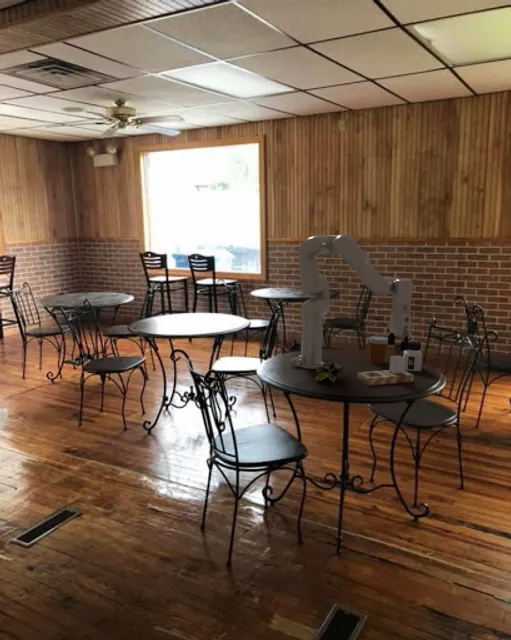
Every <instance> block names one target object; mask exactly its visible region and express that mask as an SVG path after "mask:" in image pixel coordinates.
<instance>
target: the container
mask: <svg viewBox="0 0 511 640" xmlns="http://www.w3.org/2000/svg"><path fill="white" fill-rule="evenodd" d="M421 350H422V343H421V342H420V341H418V340H409V342H408V349H407V351H404V354H403V357H404V358H405V365H404V370H405V371H408V372H421V371H422V365H423V354H422V351H421Z"/></svg>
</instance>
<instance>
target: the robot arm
mask: <svg viewBox="0 0 511 640" xmlns="http://www.w3.org/2000/svg"><path fill="white" fill-rule="evenodd" d="M329 254H330V255H332V254H333V255H334V254H335V255H338V256H339V257H340V258H341V259H342V260H343V261H344V262H346V264H347V265H348V266H349V267H351V268H352V270H354V271H355V273H356V275H357V276H358V278H359V280H360V281H361V282H362V284H364V285H365V286H366V287H367V288H368V290H370V291H371V292H372V293H373V294H374V295H376V296H378V297H379V296H380V297H383V296H387V295H390V294H391V295H392V304H391V312H390V313H391V314H390V317H389V323H387V324H386V327H387V338H388V344H387V346H394V345H395V344H396V336H399V337H400V338H401V341H400V344H401V346H400V350H401V351H407V349H408V342H409V341H411V337H412V335H413V333H412V314H411V307H412V298H413V297H412V296H413V290H414V289H413V288H414V287H413V286H414V282H413V280H412V279H408V278H396V277H392V276H388V275H387V276H386V275H385V276H382V275H381V274H380V273H379V272H378V271H377V270H376V269H375V268H374V267H373V265H372V262H371V259H370V258H371V257H370V256H369V254H368V253H366V252H365V251H364V250H363V249H362V248H361V247H360V246H358V241H357V239H356V237H355V236H353V235H352V234H338V235H337V234H335V235H333V234H329V235H327V234H326V235H325V234H324V235H314V236H310V237H308V238H307V239H305V240H304V241H303V242H302V243H301V244H300V246H299V249H298V262H299V263H298V264H299V272H300V273H299V274H300V276H299V277H300V283H301V284H300V285H301V291H302V292H303V294H305V295H306V296H308V297H310V298H309V299H307V300H305V301H304V302H303V303H302V304H301V305H302V306H301V308H300V317H301V342H300V343H301V345H300V346H301V349H300V354H299V355H298V356H297V357H290V362H291V363H296V365H297V366H298V367H300V368H303V369H309V370H315V369H316V370H317V369H319V368H318V367H321V366H322V363H324V362H323V361H322V350H323V319H322V317H325V316H327V314H329V312H330V310H331V297H330V285H329V281H328V278H327V277H326V275H323V274H322V273H320V267H319V262H318V260H317V259H318V258H317V256H320V255H329Z"/></svg>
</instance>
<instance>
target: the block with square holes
mask: <svg viewBox="0 0 511 640" xmlns="http://www.w3.org/2000/svg"><path fill="white" fill-rule="evenodd" d="M414 376H415V375H414V374H412V373H411V372H410V371H408V370H404V374H402V375H393V374H391V373H389V369H388V370H387V369H385V370H384V369H383V370H374V371H373V370H372V371H361V372H360V371H359V372H358V371H357V373H356V380H357V381H359V382H361V383H362V384H364V385H366V386H377V385H389V384H390V385H392V384H401V383H403V384H404V383H412V382H414Z"/></svg>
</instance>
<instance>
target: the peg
mask: <svg viewBox="0 0 511 640" xmlns="http://www.w3.org/2000/svg"><path fill="white" fill-rule="evenodd" d="M404 365H405V358H404V357H401V356H395V355H391V356H390V359H389V369H388V370H389V373H391V374H393V375H402V374H404Z"/></svg>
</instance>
